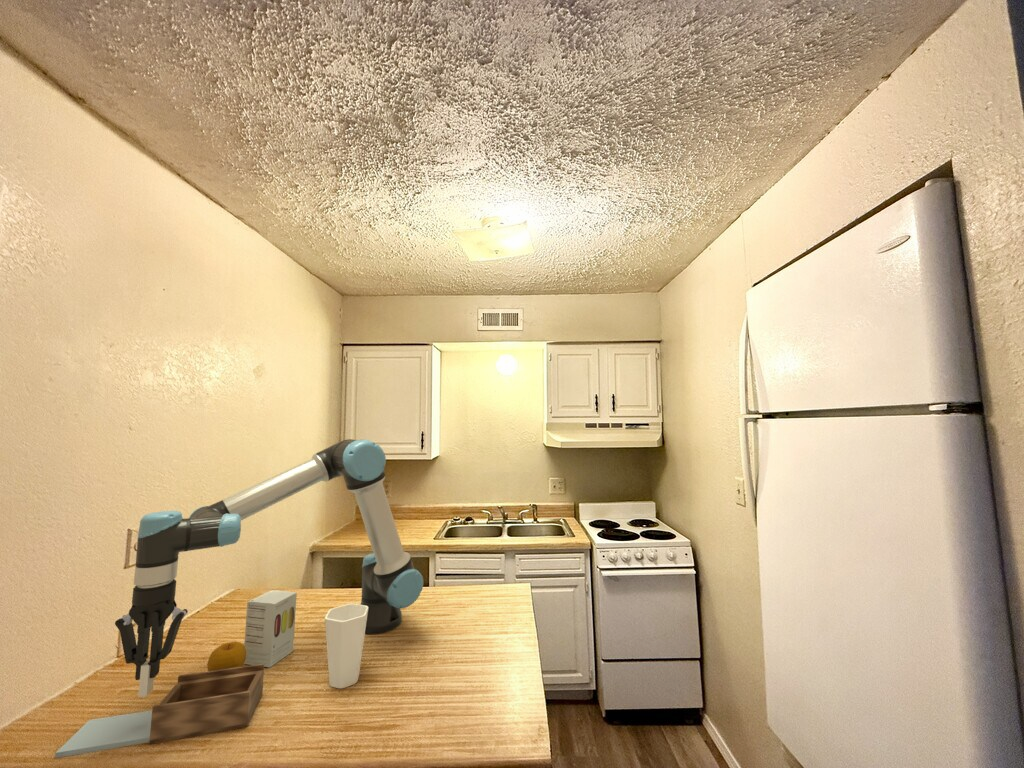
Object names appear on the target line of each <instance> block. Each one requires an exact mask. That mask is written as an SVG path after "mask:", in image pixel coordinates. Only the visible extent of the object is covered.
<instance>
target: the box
mask: <svg viewBox="0 0 1024 768" xmlns="http://www.w3.org/2000/svg"><path fill="white" fill-rule="evenodd" d="M264 673H265V667H264V664H257V665H243V667H235V668H228V669H221V670H214V671H208V670H206V671H202V672H194V673H188V674H187V673H186V674H180V675H178V676H177V682H176V684H175V685H174V686H173V687H172V689H170V691H169V692H168V693H167V695H166V696H165V697H164V698H163V699H162V701H161V702H160V703H159V704H154V705H153V706H152V708H151V710H152V718H151V730H150V742H148V745H154V744H159V743H165V742H172V741H176V740H181V739H187V738H192V737H198V736H204V735H210V734H215V733H221V732H226V731H227V732H229V731H234V730H239V729H245V728H248V726H249V724H250V722H251V719H252V718H253V716H254V713H255V711H256V709H257V707H258V705H259V703H260V700H261V698H262V697H263V695H264V694H263V690H264Z"/></svg>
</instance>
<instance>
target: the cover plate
mask: <svg viewBox="0 0 1024 768" xmlns="http://www.w3.org/2000/svg"><path fill="white" fill-rule="evenodd" d="M151 718H152V709H151V710H145V711H139V712H138V711H137V712H132V713H126V714H121V715H120V714H118V715H114V716H107V717H100V718H91V719H89V720H87V721H86V723H84V725H82V727H80V729H78V730H77V731H76V733H74V734H73V735H72V736H71V737H70V738H69V739H68V740H67V741H66V742H65V743H64V744H63V745H61V747H60V748H59V749H58V750H57V751H56V752H55V754H54V758H55V759H58V758H63V757H64V758H66V757H70V756H75V755H77V756H78V755H82V754H87V753H88V754H89V753H93V752H98V751H106V750H111V749H118V748H125V747H128V746H129V747H130V746H135V745H140V744H145V743H149V742H150V730H151Z"/></svg>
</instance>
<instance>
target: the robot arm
mask: <svg viewBox="0 0 1024 768" xmlns="http://www.w3.org/2000/svg"><path fill="white" fill-rule="evenodd" d="M386 463H387V459H386V455H385V452H384V450H383V448H382V447H381V446H380V445H379V444H377V443H376V442H374V441H371V440H369V439H353V438H352V439H351V438H349V439H343V440H341V441H338V442H336V443H334V444H332V445H330V446H328V447H326V448H324V449H323V450H320V451H318V452H316V453H314V454H313V455H312V457H311V458H310V459H309V460H307V461H304V462H302V463H299V464H297V465H296V466H293V467H291V468H289V469H287V470H285V471H282V472H280V473H277V474H275V475H274V476H272V477H269V478H267V479H264V480H262V481H261V482H258V483H257V484H254V485H251V486H250V487H248V488H245V489H243V490H240V491H239V492H237V493H235V494H233V495H230V496H228V497H226V498H223V499H221V500H219V501H217V502H215V503H213V504H210V505H205V506H200V507H198V508H196V509H195V510H193V512H192V513H191V514H190V515H189V517H187V518H183V514H182V512H181V511H179V510H163V511H162V510H161V511H155V512H151V513H147V514H145V515H143V516H142V518H141V519H140V522H139V527H138V532H137V533H138V534H137V544H136V556H135V566H134V567H135V569H134V574H133V575H134V577H133V585H134V587H133V588H132V599H131V607H130V609H129V610H128V613H127V614H125V615H122V616H121V617H119V618H118V619H117V620H115V622H114V625H115V627H117V629H118V630H119V634H120V639H121V644H122V649H123V655H124V660H125V663H126V664H127V665H129V664H134V665H135V666H136V667H135V673H134V674H135V675H134V678H135V681H139V684H138V685H139V686H138V696H137V698H145V697H148V695H149V694H150V693H151V692H152V691H153V690H154V679H155V678H156V677H157V676H158V675H159V673H160V665H161V660H164V659H166V657H168V655H170V654H171V653H172V650H173V647H174V644H175V642H176V638H177V635H178V633H179V630H180V627H181V623H182V621H183V619H184V618H185V616H186V615H187V614H188V609H186V608H184V609H181V608H180V607H179V608H178V607H177V605H178V604H177V602H176V600H175V598H176V592H177V591H176V590H177V580H176V578H177V575H178V564H179V554H180V553H183V552H190V551H191V552H192V551H196V550H203V549H204V550H205V549H211V548H218V547H219V548H222V547H224V546H229V545H235V544H236V543H237V542H238V541H239V540H240V538H241V530H242V521H244V520H245V519H247V518H249V517H251V516H254V515H255V514H257V513H259V512H262V511H263V510H266V509H268V508H269V507H272V506H273V505H275V504H277V503H280V502H282V501H284V500H286V499H287V498H290V497H292V496H294V495H295V494H296V495H297V494H298V493H300V492H301V491H303V490H306V489H308V488H310V487H312V486H314V485H316V484H318V483H321V482H326V483H327V482H329V481H331V480H333V479H336V478H339V477H343V480H344V483H345V486H346V489H347V491H348V492H351V493H352V494H354V496H355V497H354V498H355V500H356V504H357V506H358V509H359V512H360V516H361V518H362V522H363V524H364V527H365V528H364V529H365V532H366V534H367V537H368V539H369V543H370V547H371V549H372V552H373V553H369V554H367V555H365V556H364V557H363V559H362V560H363V561H362V565H361V568H362V569H361V570H362V571H361V572H362V573H361V574H362V575H361V601H360V604H359V605H365V606H368V615H367V622H366V629H365V635H375V634H376V635H377V634H383V633H388V632H390V631H393V630H394V629H396V628H398V627H399V626H400V625H401V624H402V621H403V620H402V619H403V616H402V615H403V614H402V610H401V609H405V608H408V607H410V606H412V605H414V603H415V602H416V601H417V600H418V599H419V597H420V595H421V592H422V591H423V589H424V577H423V575H422V573H421V572H420V571H419V570H417V569H415V567H414V562H413V560H412V558H411V557H412V556H411V553H410V552H407V551H404V547H403V546H402V542H401V541H402V540H401V539H400V536H399V532H398V529H397V525H396V523H395V519H394V516H393V513H392V512H393V511H392V510H391V506H390V503H389V500H388V497H387V494H386V489H385V486H384V484H383V483H384V481H385V479H386V472H385V468H386ZM171 615H172V616H171ZM170 616H171V620H172V622H171V623H170V626H169V628H168V632H167V634H166V637H165V641H164V630H165V625H166V621H167V619H168V618H169V617H170ZM133 622H134V623H135V624H136V625H137V630H136V633H137V639H136V634H135V629H134V624H133ZM150 635H151V636H150ZM150 637H151V638H150ZM150 639H151V640H150ZM150 641H151V642H150ZM163 642H164V643H163ZM149 647H150V648H149ZM149 649H150V654H149ZM148 658H149V659H148Z"/></svg>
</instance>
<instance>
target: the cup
mask: <svg viewBox="0 0 1024 768" xmlns="http://www.w3.org/2000/svg"><path fill="white" fill-rule="evenodd" d="M367 615H368V606H365V605H360V604H359V603H347V604H342V605H340V606H336V607H331V608H330V609H329V610H328V611H327V613H326V615H325V617H324V624H325V640H326V641H325V642H326V654H327V668H328V683H329V686H330V687H332V688H337V689H345V688H347V687H350V686H353V685H355V684H356V683H357V682H358V681H359V677H360V671H361V664H362V663H361V662H362V656H363V647H364V641H365V635H366V634H365V629H366V622H367Z"/></svg>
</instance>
